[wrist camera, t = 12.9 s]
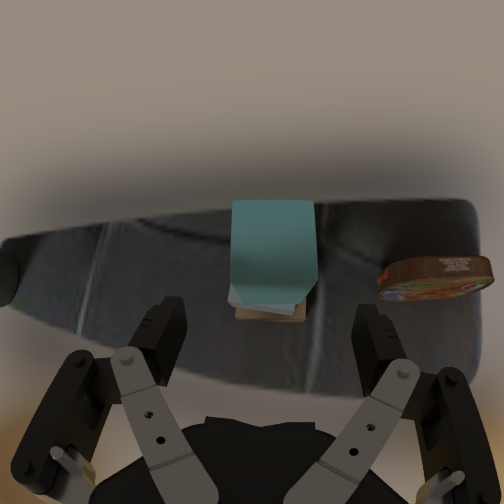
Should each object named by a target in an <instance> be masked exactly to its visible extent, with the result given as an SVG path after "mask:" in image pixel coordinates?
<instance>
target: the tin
mask: <svg viewBox="0 0 504 504" xmlns="http://www.w3.org/2000/svg"><path fill="white" fill-rule="evenodd" d="M493 282H494V277H493V273H492V269H491V264H490V261H489V259H488V258H486V257H483V256H474V255H472V256H470V255H463V256H461V255H459V256H457V255H455V256H419V257H412V258H407V259H403V260H400V261H397V262H394V263H392V264H390V265H388V266H387V267H386V268H385V269H384V270H382V271H381V272H380V273H379V275H378V288H379V293H378V297H379V298H380V299H382V300H385V301H415V300H431V299H446V298H454V297H459V296H464V295H468V294H471V293H474V292H477V291H479V290H482V289H484V288H486V287H488V286H490V285H491V284H492V283H493Z"/></svg>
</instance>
